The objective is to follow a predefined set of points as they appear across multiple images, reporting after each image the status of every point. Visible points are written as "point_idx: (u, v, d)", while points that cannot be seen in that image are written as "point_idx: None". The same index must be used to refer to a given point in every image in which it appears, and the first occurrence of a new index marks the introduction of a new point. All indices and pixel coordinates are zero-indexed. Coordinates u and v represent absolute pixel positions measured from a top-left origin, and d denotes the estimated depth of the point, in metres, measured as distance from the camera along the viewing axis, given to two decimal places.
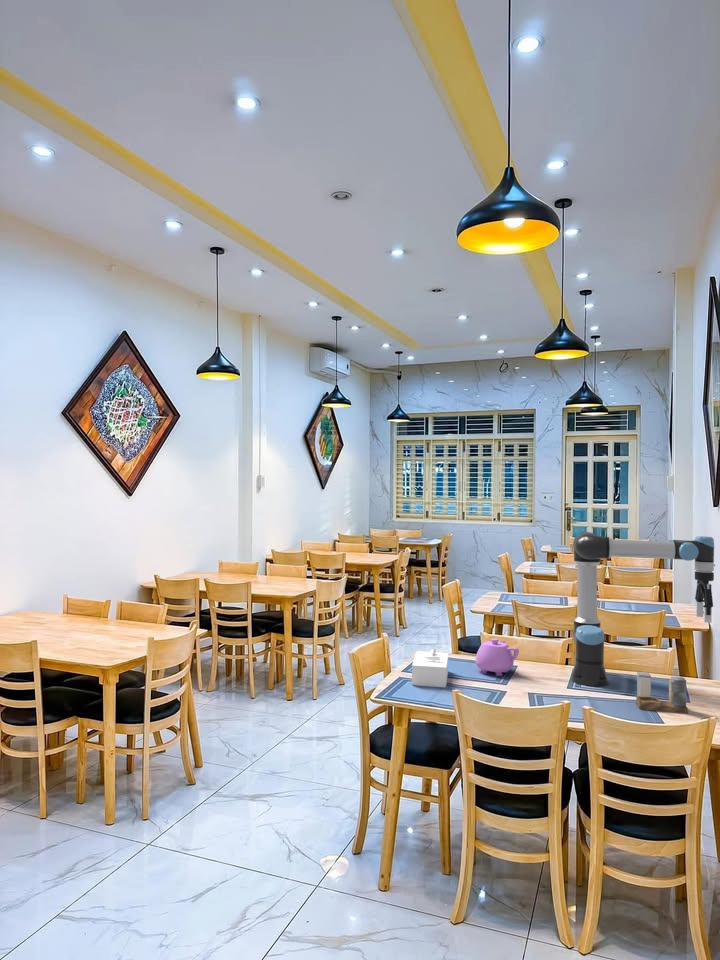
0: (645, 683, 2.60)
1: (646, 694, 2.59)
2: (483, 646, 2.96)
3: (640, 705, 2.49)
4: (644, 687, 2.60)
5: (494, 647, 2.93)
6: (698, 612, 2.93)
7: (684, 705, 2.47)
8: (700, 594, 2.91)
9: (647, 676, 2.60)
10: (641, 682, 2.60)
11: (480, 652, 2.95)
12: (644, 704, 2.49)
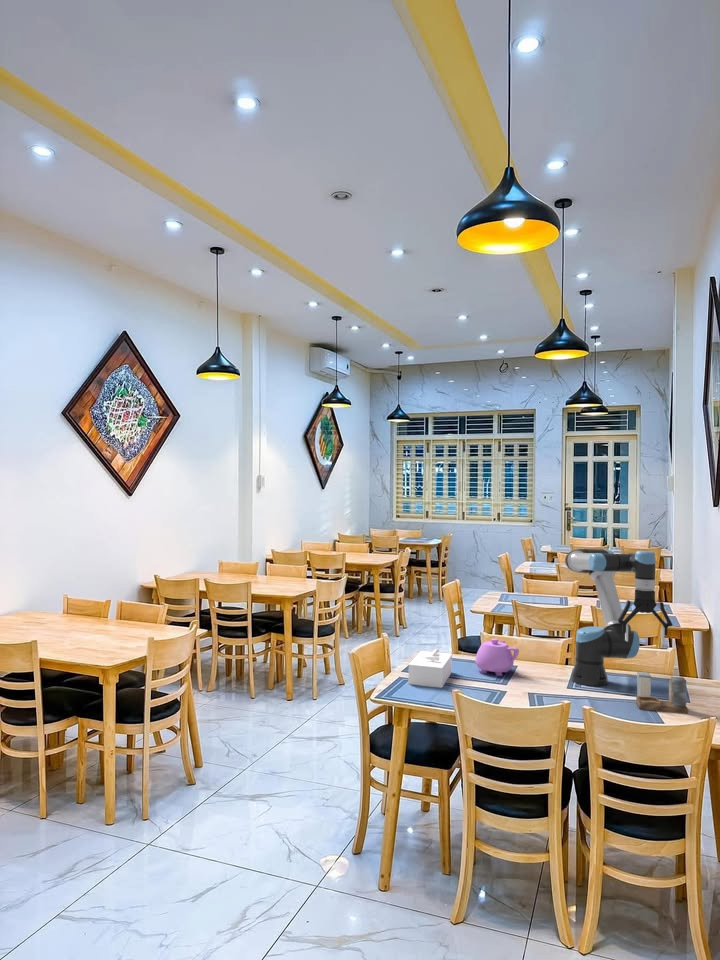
0: (645, 683, 2.60)
1: (646, 694, 2.59)
2: (483, 646, 2.96)
3: (640, 705, 2.49)
4: (644, 687, 2.60)
5: (494, 647, 2.93)
6: (661, 638, 2.62)
7: (684, 705, 2.47)
8: None
9: (647, 676, 2.60)
10: (641, 682, 2.60)
11: (480, 652, 2.95)
12: (644, 704, 2.49)
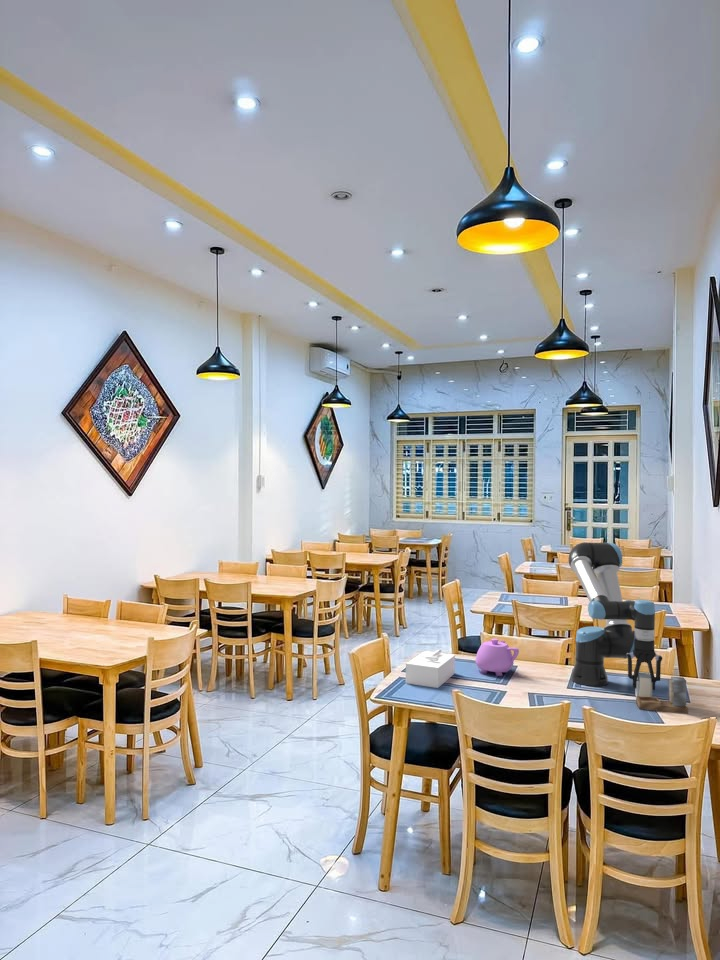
0: (645, 683, 2.59)
1: (646, 694, 2.59)
2: (483, 646, 2.96)
3: (640, 705, 2.49)
4: (644, 687, 2.60)
5: (494, 647, 2.93)
6: None
7: (684, 705, 2.47)
8: None
9: (647, 676, 2.60)
10: (641, 682, 2.60)
11: (480, 652, 2.95)
12: (644, 704, 2.49)
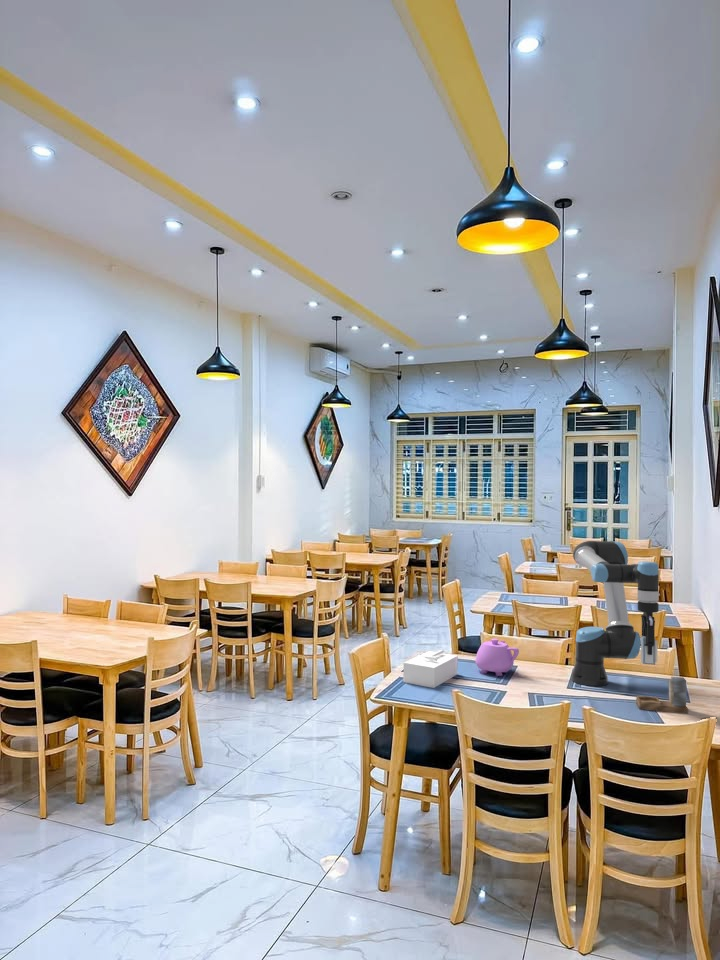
0: None
1: None
2: (483, 646, 2.96)
3: (640, 705, 2.49)
4: None
5: (494, 647, 2.93)
6: None
7: (684, 705, 2.47)
8: (645, 630, 2.56)
9: None
10: None
11: (480, 652, 2.95)
12: (644, 704, 2.49)
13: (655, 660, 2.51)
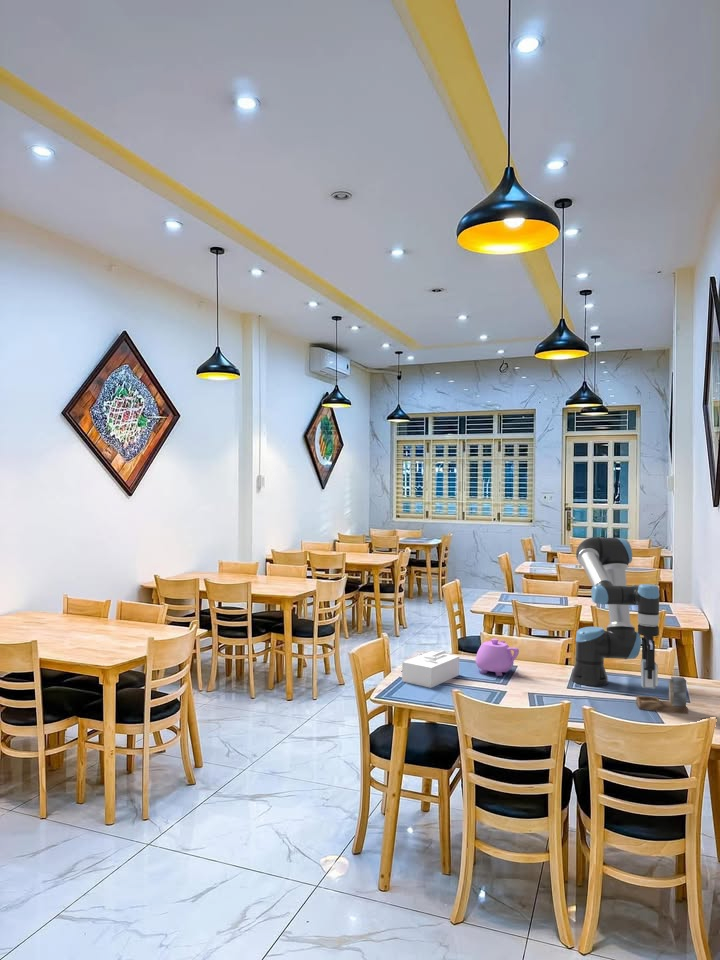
0: None
1: None
2: (483, 646, 2.96)
3: (640, 705, 2.49)
4: None
5: (494, 647, 2.93)
6: None
7: (684, 705, 2.47)
8: (646, 653, 2.54)
9: None
10: None
11: (480, 652, 2.95)
12: (644, 704, 2.49)
13: (655, 684, 2.49)
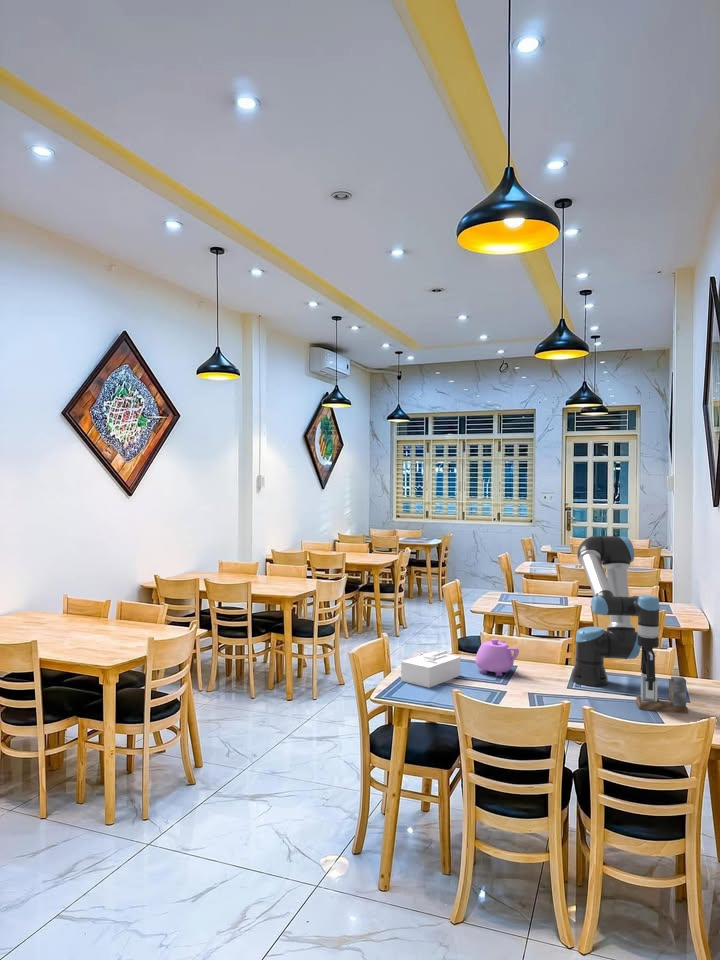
0: None
1: None
2: (483, 646, 2.96)
3: (640, 705, 2.49)
4: None
5: (494, 647, 2.93)
6: None
7: (684, 705, 2.47)
8: (645, 663, 2.55)
9: None
10: None
11: (480, 652, 2.95)
12: (644, 704, 2.49)
13: (655, 699, 2.49)
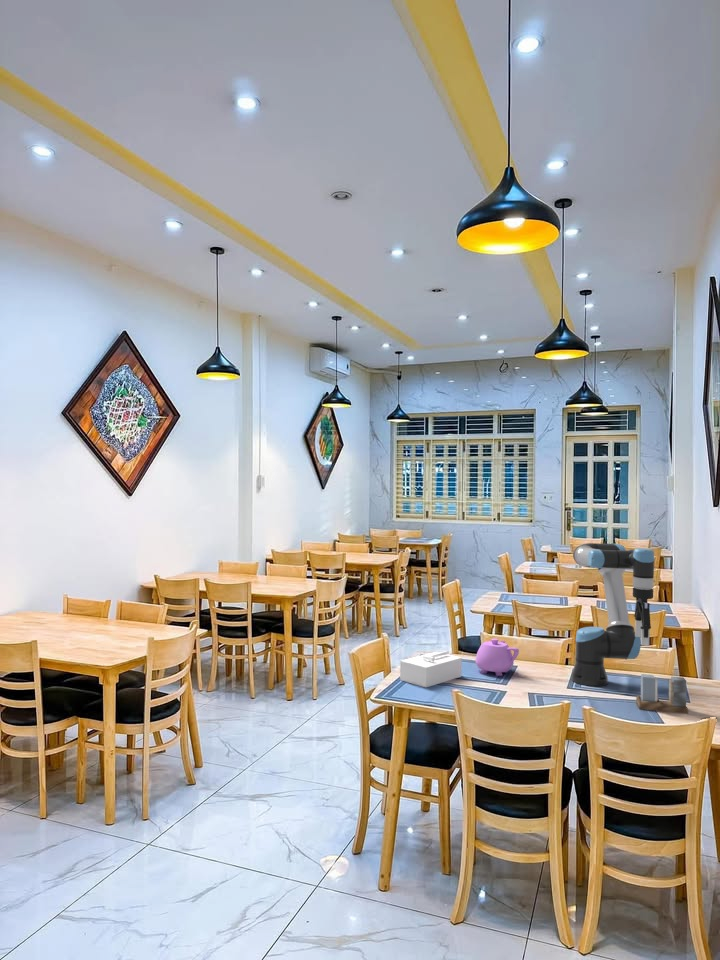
0: None
1: None
2: (483, 646, 2.96)
3: (640, 705, 2.49)
4: None
5: (494, 647, 2.93)
6: (637, 632, 2.64)
7: (684, 705, 2.47)
8: (639, 612, 2.61)
9: None
10: None
11: (480, 652, 2.95)
12: (644, 704, 2.49)
13: (655, 699, 2.49)
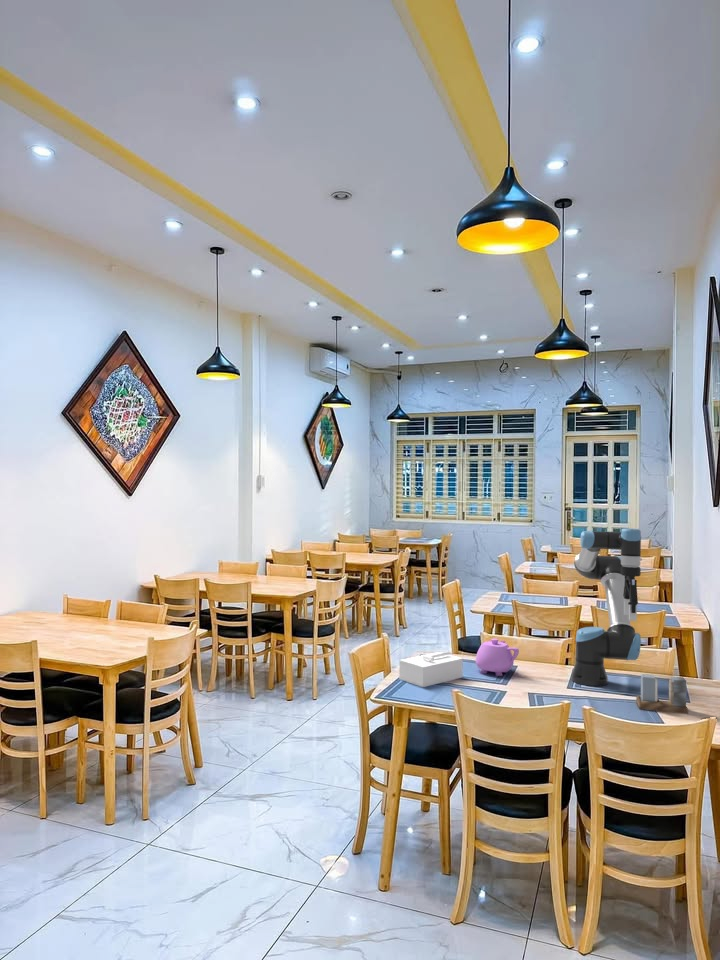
0: None
1: None
2: (483, 646, 2.96)
3: (640, 705, 2.49)
4: None
5: (494, 647, 2.93)
6: (626, 610, 2.73)
7: (684, 705, 2.47)
8: (627, 590, 2.71)
9: None
10: None
11: (480, 652, 2.95)
12: (644, 704, 2.49)
13: (655, 699, 2.49)
